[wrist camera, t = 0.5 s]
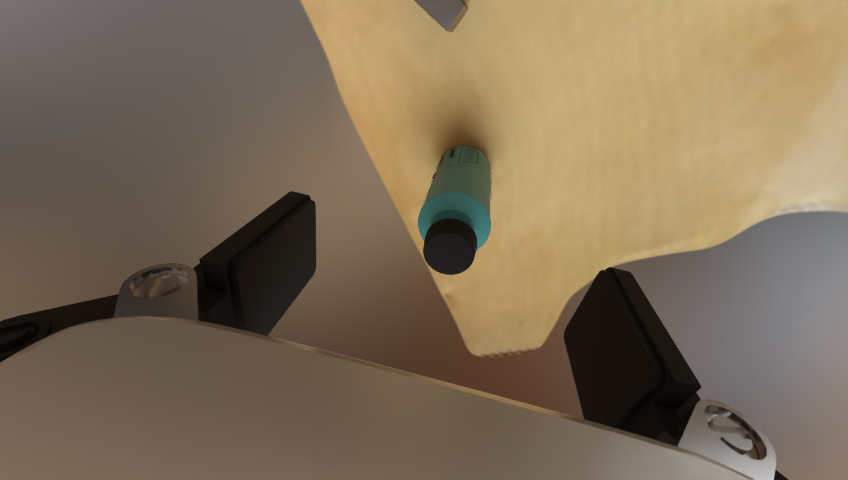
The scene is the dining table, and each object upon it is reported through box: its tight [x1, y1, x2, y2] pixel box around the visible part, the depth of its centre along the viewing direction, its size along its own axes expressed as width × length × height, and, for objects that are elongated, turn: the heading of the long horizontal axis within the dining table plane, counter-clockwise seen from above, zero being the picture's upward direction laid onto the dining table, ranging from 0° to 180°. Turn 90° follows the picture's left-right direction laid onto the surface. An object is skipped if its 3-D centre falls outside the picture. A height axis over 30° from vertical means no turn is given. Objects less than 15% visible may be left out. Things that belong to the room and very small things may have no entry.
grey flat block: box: [414, 0, 468, 32], centre depth 30 cm, size 2×5×5 cm, turn 52°
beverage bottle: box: [418, 145, 492, 275], centre depth 32 cm, size 6×7×20 cm
